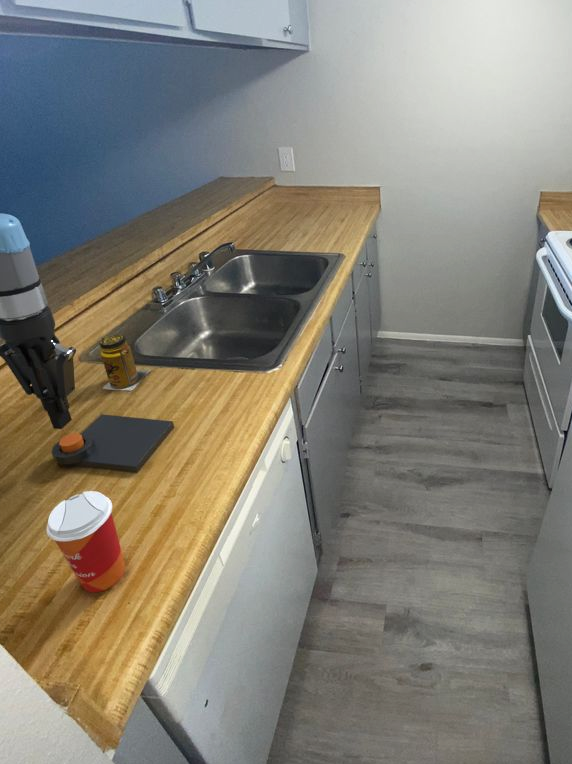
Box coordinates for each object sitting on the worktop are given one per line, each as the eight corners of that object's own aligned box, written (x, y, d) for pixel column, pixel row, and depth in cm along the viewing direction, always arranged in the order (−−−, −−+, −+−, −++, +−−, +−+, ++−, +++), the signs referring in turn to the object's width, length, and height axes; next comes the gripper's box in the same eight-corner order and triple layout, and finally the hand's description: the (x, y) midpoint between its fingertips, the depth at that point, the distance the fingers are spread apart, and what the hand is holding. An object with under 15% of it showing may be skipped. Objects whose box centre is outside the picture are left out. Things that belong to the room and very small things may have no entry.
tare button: (57, 452, 89) (54, 445, 88) (71, 439, 92) (68, 432, 91) (75, 454, 88) (72, 446, 87) (88, 440, 91) (86, 433, 91)
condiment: (101, 389, 111) (87, 345, 105) (123, 369, 118) (111, 327, 113) (132, 391, 111) (119, 347, 105) (151, 371, 118) (140, 329, 113)
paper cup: (69, 570, 71) (40, 506, 65) (126, 542, 76) (103, 479, 69) (79, 611, 66) (47, 546, 60) (138, 579, 71) (115, 514, 64)
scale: (49, 469, 89) (43, 455, 87) (100, 420, 101) (95, 407, 100) (133, 478, 88) (129, 464, 86) (174, 427, 100) (171, 414, 99)
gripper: (75, 304, 79) (109, 414, 90) (3, 297, 80) (45, 407, 91) (40, 325, 73) (81, 441, 84) (-38, 317, 74) (13, 434, 85)
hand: (62, 424), depth 87 cm, fingers closed
